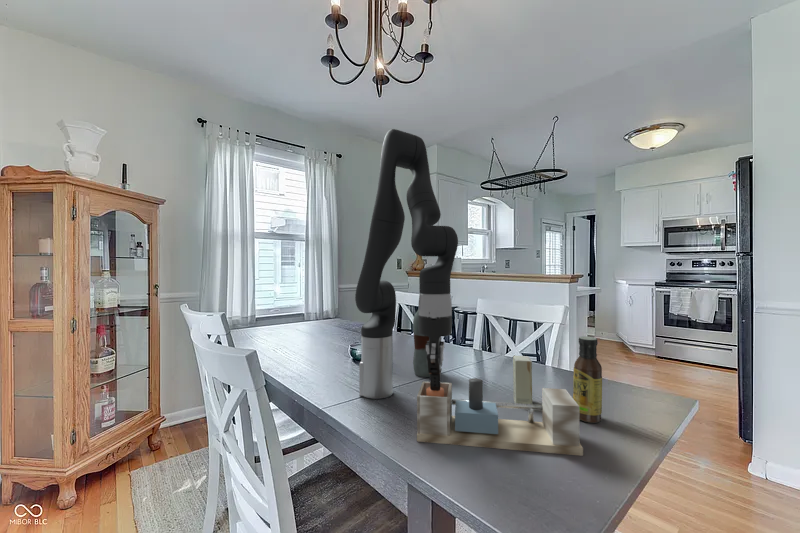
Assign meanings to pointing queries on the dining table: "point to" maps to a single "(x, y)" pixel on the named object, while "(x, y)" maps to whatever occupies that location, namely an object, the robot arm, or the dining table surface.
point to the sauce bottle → (588, 381)
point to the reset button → (435, 392)
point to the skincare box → (522, 379)
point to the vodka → (419, 350)
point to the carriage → (476, 411)
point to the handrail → (515, 407)
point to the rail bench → (504, 425)
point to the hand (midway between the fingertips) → (435, 389)
